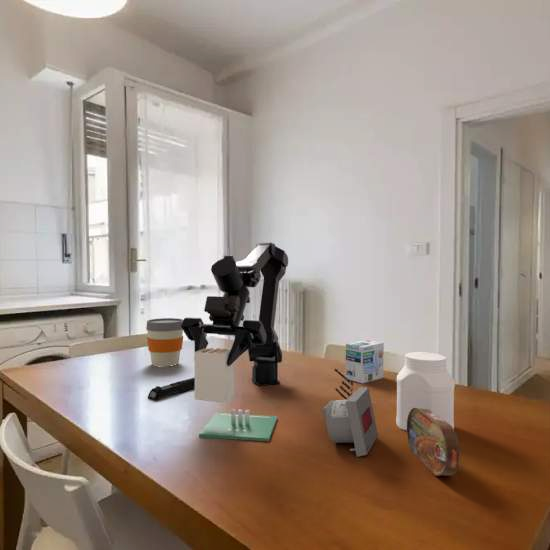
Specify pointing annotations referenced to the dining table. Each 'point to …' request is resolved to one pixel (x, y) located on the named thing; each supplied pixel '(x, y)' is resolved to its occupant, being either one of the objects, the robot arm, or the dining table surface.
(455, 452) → the tin
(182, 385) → the electric trimmer
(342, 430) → the voltmeter
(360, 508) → the dining table surface
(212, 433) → the header board
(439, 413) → the jar
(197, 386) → the plug block
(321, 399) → the dining table surface
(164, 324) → the reusable coffee cup
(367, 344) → the light bulb box
